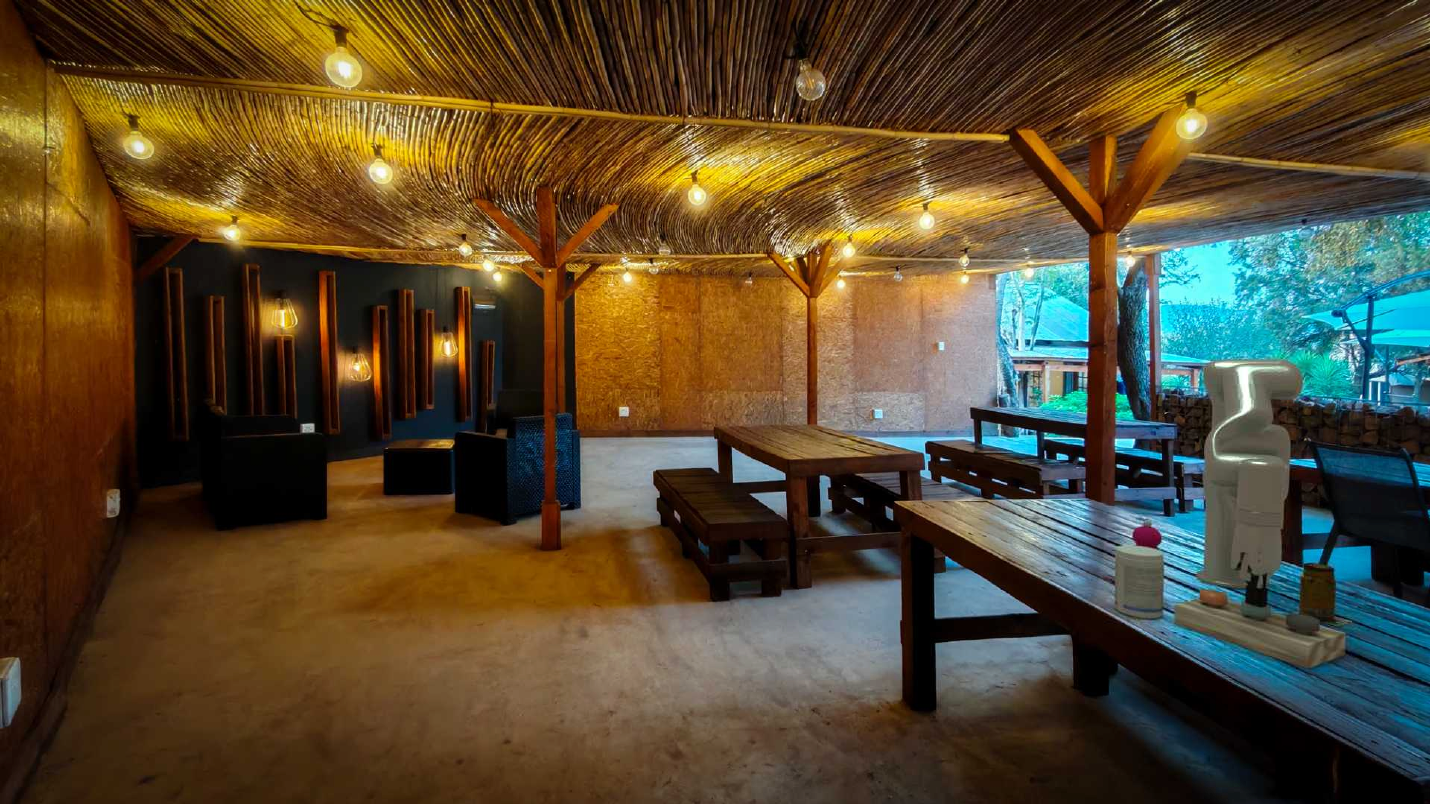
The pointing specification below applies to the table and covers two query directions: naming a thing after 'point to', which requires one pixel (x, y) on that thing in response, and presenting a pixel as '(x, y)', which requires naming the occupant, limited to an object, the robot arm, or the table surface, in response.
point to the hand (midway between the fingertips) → (1256, 605)
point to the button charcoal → (1302, 623)
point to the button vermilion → (1213, 597)
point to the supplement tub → (1139, 581)
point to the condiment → (1319, 593)
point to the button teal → (1255, 611)
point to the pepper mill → (1147, 536)
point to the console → (1261, 633)
